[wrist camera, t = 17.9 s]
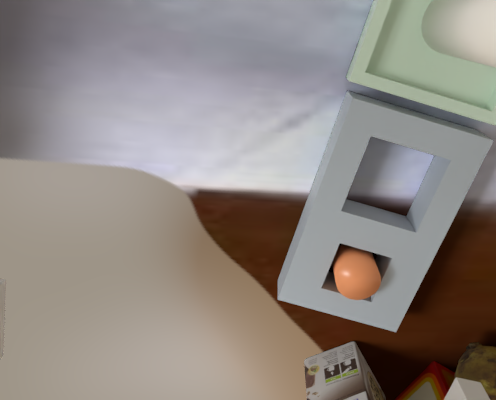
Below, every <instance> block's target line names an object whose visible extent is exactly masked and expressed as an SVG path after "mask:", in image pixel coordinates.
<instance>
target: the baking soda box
mask: <svg viewBox="0 0 496 400" xmlns="http://www.w3.org/2000/svg"><path fill="white" fill-rule="evenodd" d="M454 374H455V373H454V372H453V371H451V370H449V369H447V368H445V367H444V366H442V365H440V364H438V363H437V362H435V361H433V362H432V363H431V364H430V365H429V366H428V367H427V368H426V369H425V370H424V371H423V372H422V373H421V374H420V375H419V376H418V377H417V378H416V379H415V380H414V381H413V382H412V383H411V384H410V385H409V386H408V387H407V388H406V389H405V390H404V391H403V392H402V393H401V394H400V395H399V396H398V397H397V398H396V399H395V400H444V398H445V397H446V395H447V393H448V391H449V389H450V387H451V385H452V383H453V382H454V380H455V379H454V376H455V375H454Z"/></svg>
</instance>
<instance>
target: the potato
mask: <svg viewBox="0 0 496 400" xmlns="http://www.w3.org/2000/svg"><path fill="white" fill-rule="evenodd" d="M466 349H467V351H466V352H465V353H463V355H462V356H461V358H460V359H459V360H458V366H457V367H456V368H457V369H456V373H455V374H454V375H455V376H454V379H455V378H456V377H457V378H462V379H467V380H471V381H476V382H480V383H481V384H482V386H483V388H484V389H485V391H486V393H487V395H488V397H489V398H490V400H496V347H493V346H482V344H479V343H470V344H469V345H468V346H467V347H466Z"/></svg>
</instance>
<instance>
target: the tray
mask: <svg viewBox="0 0 496 400" xmlns="http://www.w3.org/2000/svg"><path fill="white" fill-rule="evenodd" d="M432 1H433V0H373V3H372V6H371V9H370V11H369V14H368V17H367V20H366V23H365V25H364V28H363V31H362V34H361V36H360V39H359V42H358V45H357V47H356V50H355V53H354V56H353V59H352V61H351V64H350V67H349V70H348V72H347V75H346V79H347V80H348V81H350V82H353V83H357V84H360V85H363V86H367V87H370V88H373V89H376V90H380V91H383V92H386V93H390V94H393V95H396V96H399V97H403V98H406V99H409V100H413V101H416V102H419V103H422V104H426V105H429V106H432V107H436V108H439V109H442V110H445V111H449V112H452V113H455V114H459V115H462V116H465V117H468V118H472V119H475V120H478V121H482V122H485V123H488V124H491V125H495V126H496V68H495V67H491V66H488V65H484V64H480V63H476V62H472V61H468V60H464V59H461V58H457V57H453V56H449V55H445V54H441V53H438V52H436V51H434V50H432V49H431V48H430V47H429V46H428V45H427V44H426V42H425V40H424V38H423V35H422V30H421V25H422V19H423V15H424V13H425V11H426V9H427V7H428V6H429V4H430V3H431V2H432Z"/></svg>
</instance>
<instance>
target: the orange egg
mask: <svg viewBox="0 0 496 400" xmlns="http://www.w3.org/2000/svg"><path fill="white" fill-rule="evenodd" d="M332 267H333V272H334V277H335V282H336V286H337V289H338V291H339V292H340V293H341V294H342V295H343V296H345V297H347V298H349V299H353V300H362V299H366V298H368V297H370V296H372V295H373V294H375V293H376V292H377V290H378V289H379V287H380V284H381V276H380V273H379V270H378V267H377V265H376V262H375V260H374V257H373V254H372V252H369V251H365V250H362V249H358V248H355V247H351V246H348V245H344V244H342V245H340V246H339V247H338V249H337V251H336V254H335V256H334V259H333V261H332Z"/></svg>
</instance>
